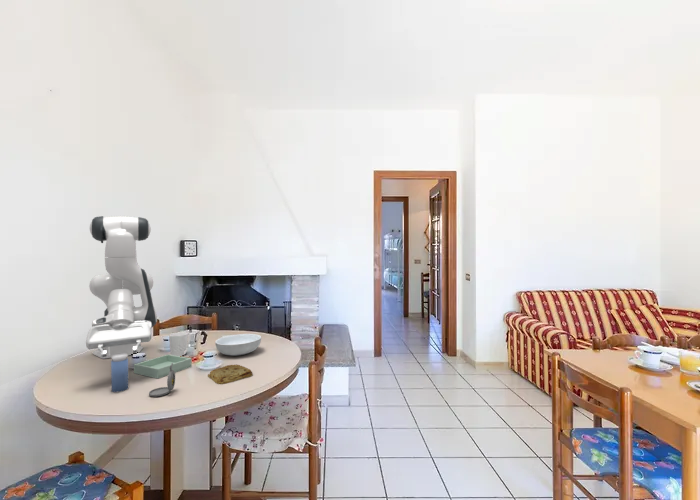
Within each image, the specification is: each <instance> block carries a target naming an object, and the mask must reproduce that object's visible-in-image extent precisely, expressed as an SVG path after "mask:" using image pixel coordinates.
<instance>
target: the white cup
mask: <svg viewBox="0 0 700 500" xmlns="http://www.w3.org/2000/svg"><path fill="white" fill-rule="evenodd" d="M168 335H169V350H170V355H174V356H181V357H183V356H182V355H183V354H184V351H185V350H186V348H187V349H188V341H189V340H188V338H189V333H188V332H186V331H179V332H173V333H170V334H168Z"/></svg>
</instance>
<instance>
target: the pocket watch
mask: <svg viewBox="0 0 700 500" xmlns="http://www.w3.org/2000/svg"><path fill="white" fill-rule="evenodd" d="M171 365H173V363H172V364H171ZM166 379H167V380H166V381H167V382H166V384H167V385H166V386H162V387H158V388H154V389H151V390H150V391H149V392H148V395H149V396H150V397H156V398H157V397H162V396H165V395H168V394H169V393H171V392H172V391H173V390H174V388H175V384H176V372H175V371H174V370H172V366H170V372H169V374H168V375H167V378H166Z"/></svg>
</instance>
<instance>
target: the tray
mask: <svg viewBox="0 0 700 500" xmlns="http://www.w3.org/2000/svg"><path fill="white" fill-rule="evenodd" d="M172 363H173V365H171V364H172ZM170 366H172V370H174V371H175V373H177V372H180V371H183V370H186V369H189V368H192V367H193V365H192V358H191V357H185V356H181V357H180V356H174V355H171V354H170V353H169V354H165V355H161V356H159V357H158V356H157V357H155V358H151V359H148V360H145V361H142V362H138V363H134V364H133V374H136V375H141V376H144V377H149V378H153V379H162V378H164V377H166V376H167V377H168V374H169V372H170Z"/></svg>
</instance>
